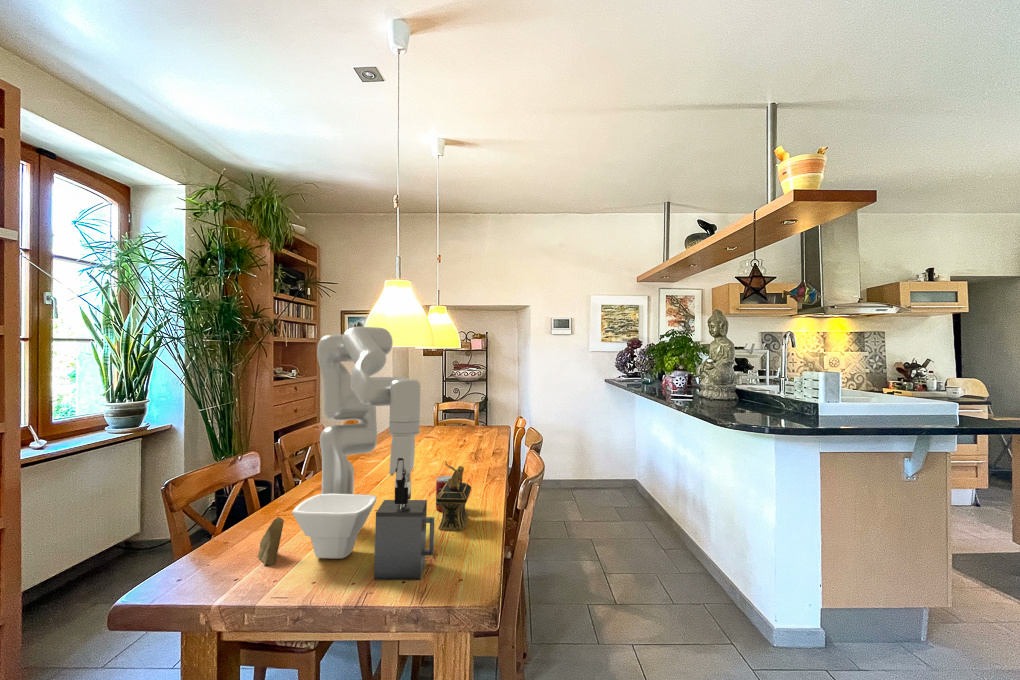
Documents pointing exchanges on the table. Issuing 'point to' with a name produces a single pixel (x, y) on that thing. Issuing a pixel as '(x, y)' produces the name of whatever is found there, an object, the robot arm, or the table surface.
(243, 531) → the table surface
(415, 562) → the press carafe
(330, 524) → the bowl
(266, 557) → the rock
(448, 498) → the decorative box
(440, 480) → the canned food
